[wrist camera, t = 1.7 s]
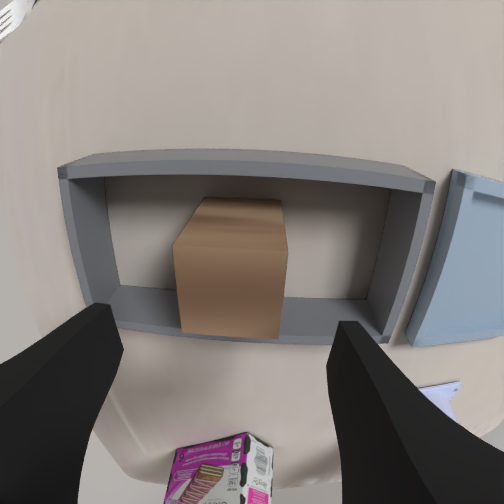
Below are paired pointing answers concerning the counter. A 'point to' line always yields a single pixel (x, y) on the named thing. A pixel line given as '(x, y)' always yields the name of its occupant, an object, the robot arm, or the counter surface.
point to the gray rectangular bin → (246, 164)
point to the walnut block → (232, 268)
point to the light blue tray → (464, 267)
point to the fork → (14, 15)
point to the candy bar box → (222, 472)
